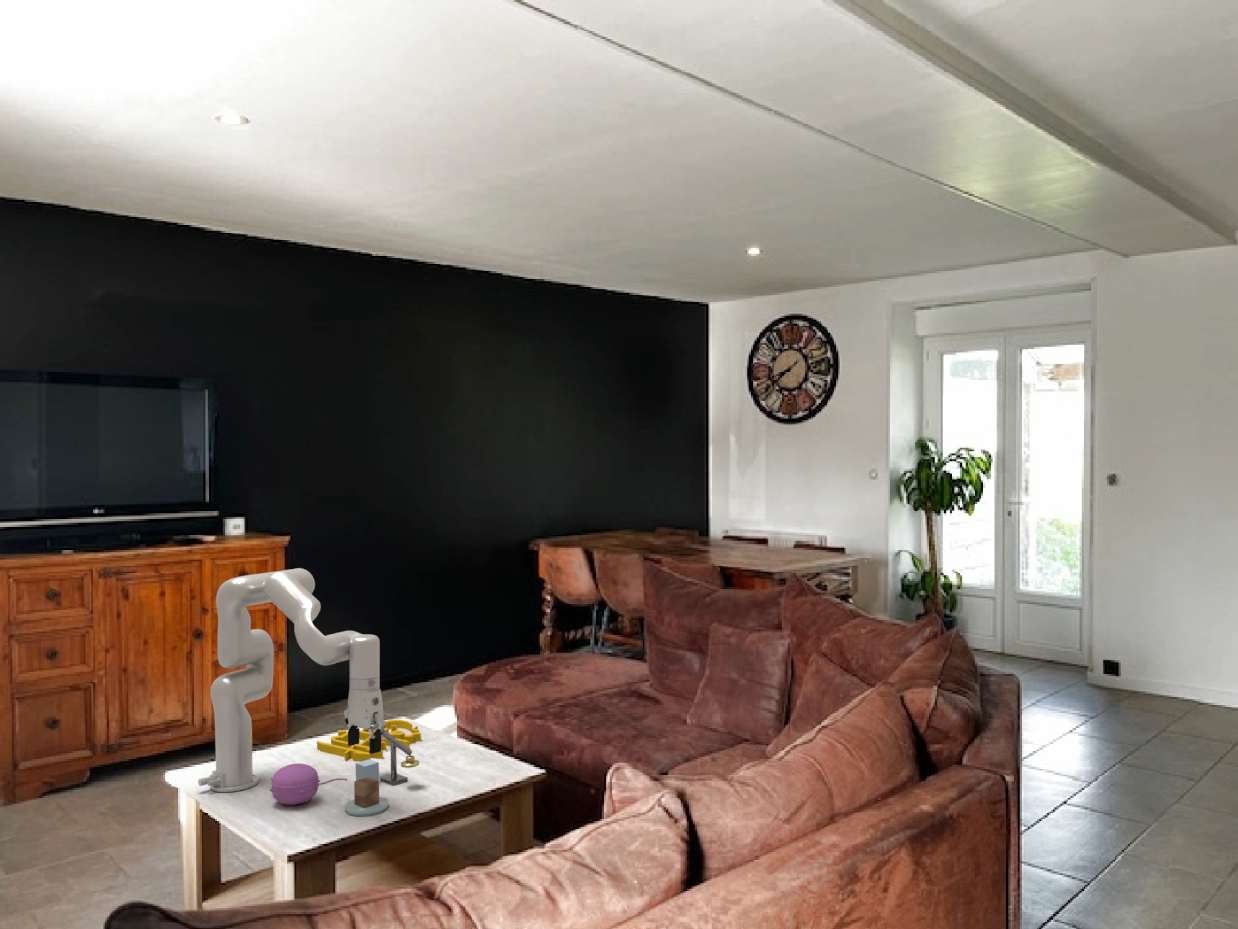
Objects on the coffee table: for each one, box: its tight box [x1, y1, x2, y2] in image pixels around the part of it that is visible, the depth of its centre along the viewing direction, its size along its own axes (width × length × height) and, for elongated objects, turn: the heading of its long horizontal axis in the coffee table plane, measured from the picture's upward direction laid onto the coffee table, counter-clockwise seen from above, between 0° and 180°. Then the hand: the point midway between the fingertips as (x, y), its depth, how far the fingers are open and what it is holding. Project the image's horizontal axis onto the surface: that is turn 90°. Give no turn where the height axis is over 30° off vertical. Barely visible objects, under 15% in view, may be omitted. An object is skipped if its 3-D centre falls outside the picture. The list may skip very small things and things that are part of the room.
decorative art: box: [316, 719, 422, 762], centre depth 300 cm, size 34×3×30 cm
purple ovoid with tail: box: [269, 763, 348, 806], centre depth 247 cm, size 12×19×10 cm, turn 77°
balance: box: [368, 729, 420, 787], centre depth 263 cm, size 5×20×14 cm, turn 49°
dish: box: [344, 796, 390, 817], centre depth 243 cm, size 11×11×1 cm
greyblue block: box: [355, 759, 380, 781], centre depth 262 cm, size 4×4×6 cm
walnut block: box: [353, 777, 380, 808], centre depth 243 cm, size 4×4×6 cm
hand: (364, 748), depth 243 cm, fingers open, 9 cm apart
